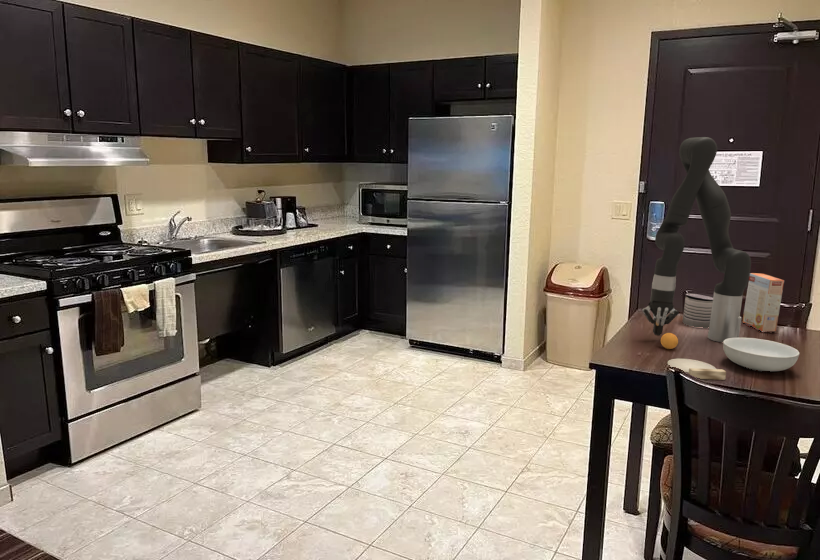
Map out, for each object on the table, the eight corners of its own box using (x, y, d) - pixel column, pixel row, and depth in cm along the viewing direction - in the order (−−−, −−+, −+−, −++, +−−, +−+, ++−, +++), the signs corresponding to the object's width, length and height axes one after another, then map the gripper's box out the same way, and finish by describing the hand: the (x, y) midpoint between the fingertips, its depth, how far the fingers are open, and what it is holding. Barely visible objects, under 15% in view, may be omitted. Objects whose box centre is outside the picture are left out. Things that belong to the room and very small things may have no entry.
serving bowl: (781, 360, 198) (784, 340, 196) (807, 382, 178) (811, 360, 176) (713, 353, 202) (715, 333, 201) (730, 374, 182) (734, 352, 181)
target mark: (709, 361, 193) (709, 360, 193) (722, 376, 180) (722, 375, 180) (663, 357, 196) (663, 356, 196) (673, 371, 182) (673, 371, 182)
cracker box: (776, 333, 229) (785, 280, 225) (760, 333, 229) (769, 279, 225) (756, 323, 243) (764, 272, 239) (741, 323, 243) (749, 272, 239)
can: (675, 321, 242) (679, 292, 240) (699, 320, 245) (703, 291, 243) (695, 329, 231) (699, 299, 229) (720, 328, 234) (724, 298, 232)
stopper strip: (721, 377, 179) (722, 369, 179) (725, 379, 177) (726, 371, 177) (688, 376, 179) (689, 368, 179) (691, 378, 177) (692, 370, 177)
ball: (674, 346, 208) (676, 331, 207) (678, 351, 202) (680, 336, 201) (658, 345, 209) (660, 330, 208) (661, 350, 203) (663, 334, 202)
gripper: (677, 286, 215) (671, 332, 218) (640, 284, 215) (634, 331, 218) (686, 290, 207) (680, 339, 211) (648, 289, 207) (642, 337, 211)
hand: (657, 334), depth 214 cm, fingers closed
